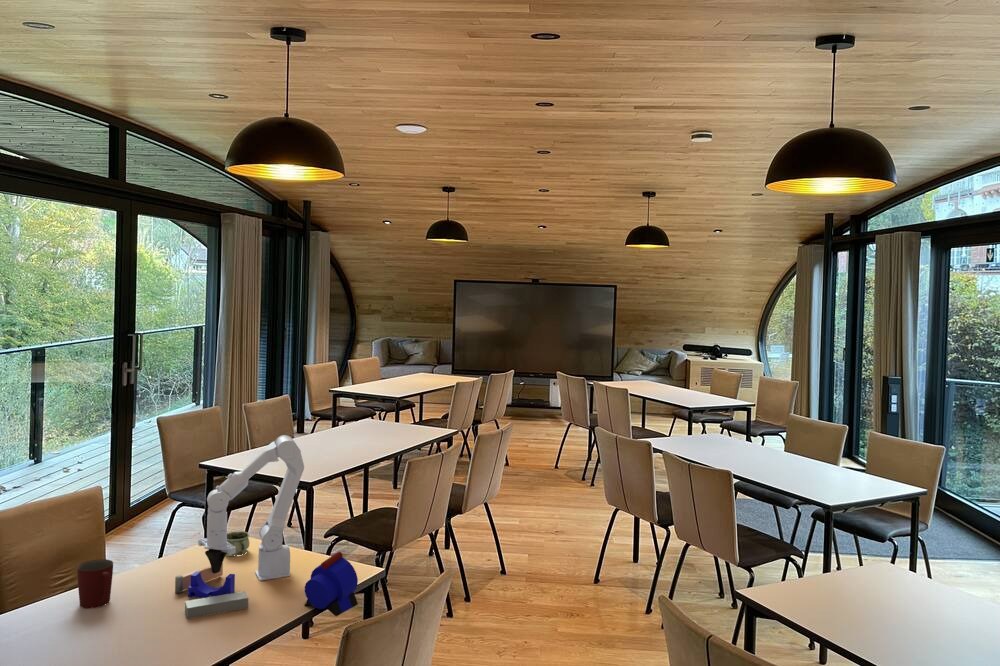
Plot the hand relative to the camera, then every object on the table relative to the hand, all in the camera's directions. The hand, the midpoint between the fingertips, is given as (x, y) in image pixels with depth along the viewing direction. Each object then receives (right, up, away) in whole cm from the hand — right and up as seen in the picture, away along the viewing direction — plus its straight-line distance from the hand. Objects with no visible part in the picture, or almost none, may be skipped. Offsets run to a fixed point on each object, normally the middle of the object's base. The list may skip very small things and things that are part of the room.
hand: (216, 572), depth 223 cm
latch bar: (-4, -2, -3) cm, 6 cm away
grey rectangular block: (+8, -4, -20) cm, 22 cm away
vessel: (-3, -2, +24) cm, 24 cm away
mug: (-26, -3, -19) cm, 33 cm away
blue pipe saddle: (+2, -4, -10) cm, 11 cm away
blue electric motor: (+38, -5, -14) cm, 41 cm away
